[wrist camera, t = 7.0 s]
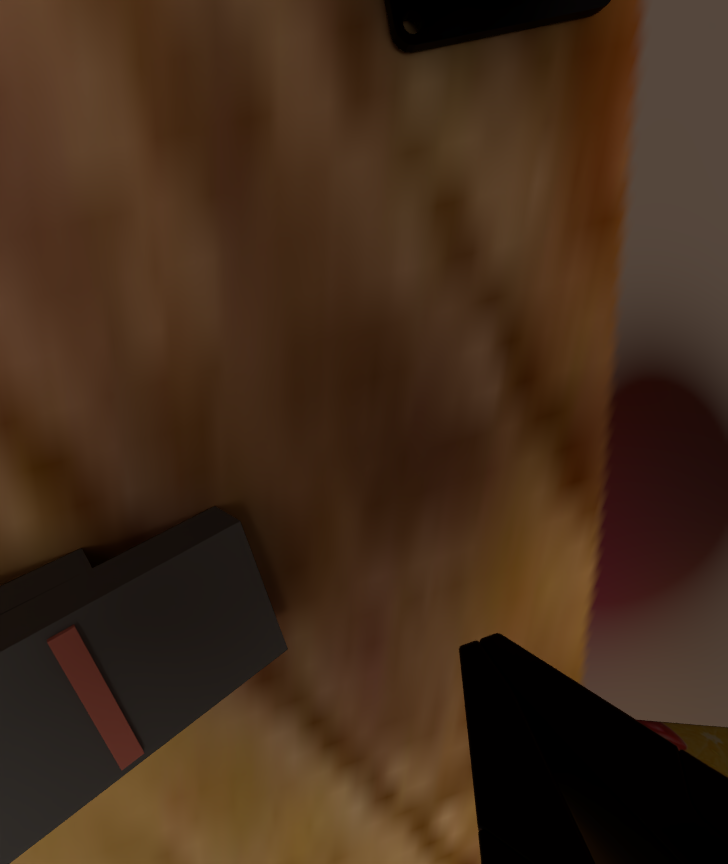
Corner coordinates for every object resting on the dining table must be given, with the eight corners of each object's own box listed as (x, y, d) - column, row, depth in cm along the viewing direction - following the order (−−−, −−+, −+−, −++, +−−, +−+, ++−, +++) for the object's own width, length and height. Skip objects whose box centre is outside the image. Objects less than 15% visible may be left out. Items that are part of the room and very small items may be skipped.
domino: (242, 522, 14) (-260, 797, 8) (290, 651, 15) (-103, 955, 10) (215, 506, 15) (-217, 725, 10) (260, 623, 17) (-90, 870, 11)
